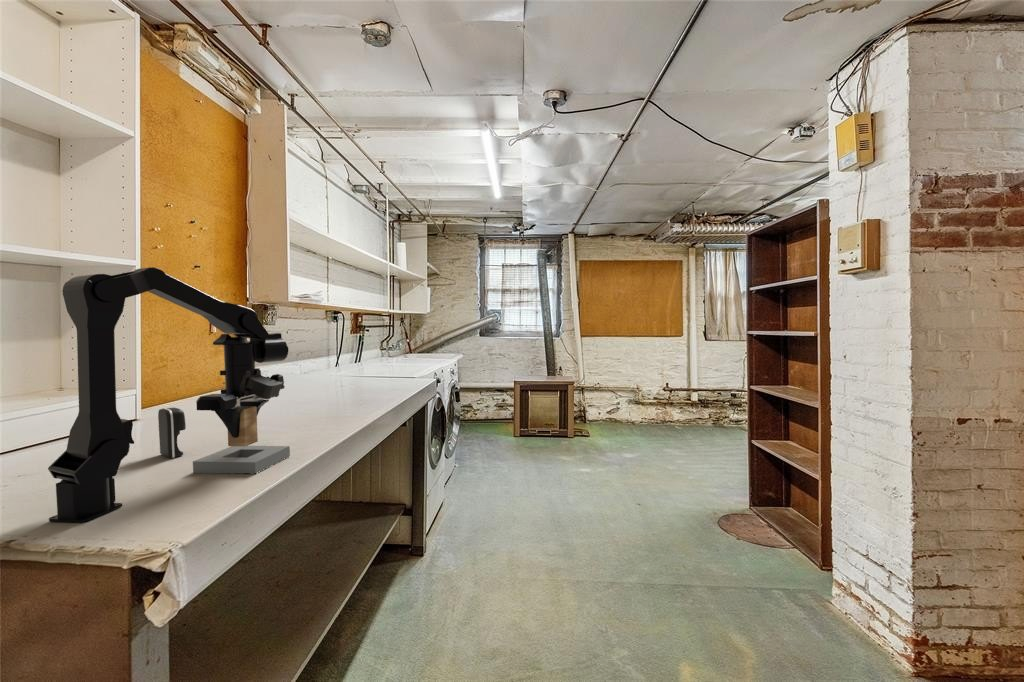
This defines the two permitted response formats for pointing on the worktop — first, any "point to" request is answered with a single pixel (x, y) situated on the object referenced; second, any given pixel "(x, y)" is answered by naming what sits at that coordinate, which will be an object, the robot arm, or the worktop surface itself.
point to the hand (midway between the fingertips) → (242, 434)
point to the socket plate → (241, 459)
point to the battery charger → (170, 431)
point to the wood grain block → (246, 428)
